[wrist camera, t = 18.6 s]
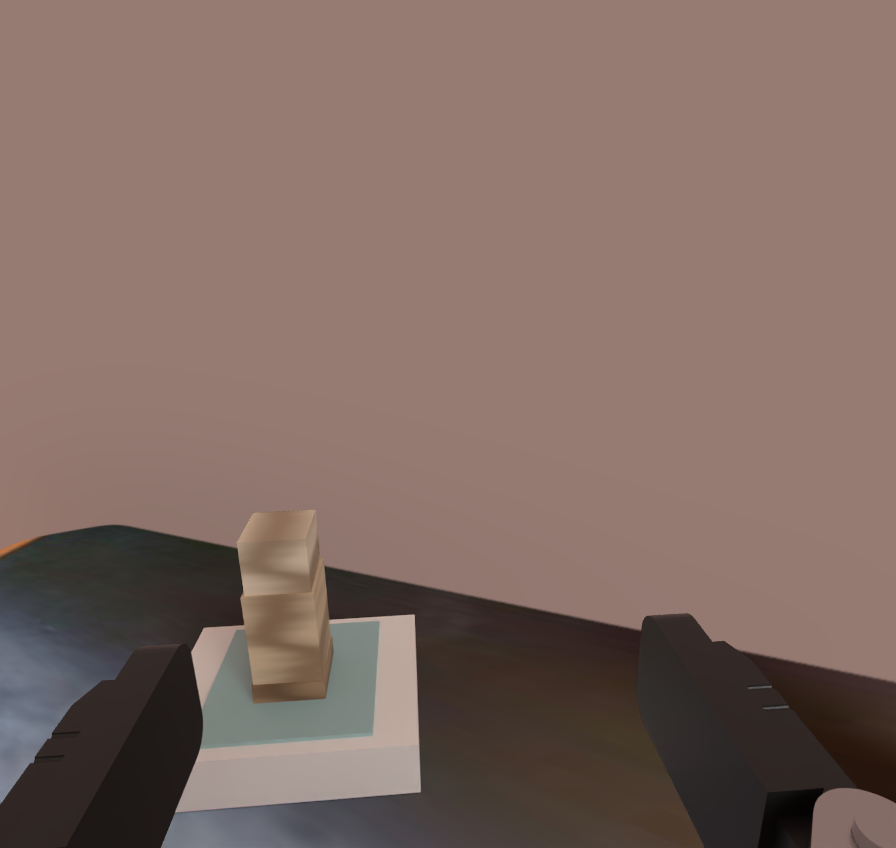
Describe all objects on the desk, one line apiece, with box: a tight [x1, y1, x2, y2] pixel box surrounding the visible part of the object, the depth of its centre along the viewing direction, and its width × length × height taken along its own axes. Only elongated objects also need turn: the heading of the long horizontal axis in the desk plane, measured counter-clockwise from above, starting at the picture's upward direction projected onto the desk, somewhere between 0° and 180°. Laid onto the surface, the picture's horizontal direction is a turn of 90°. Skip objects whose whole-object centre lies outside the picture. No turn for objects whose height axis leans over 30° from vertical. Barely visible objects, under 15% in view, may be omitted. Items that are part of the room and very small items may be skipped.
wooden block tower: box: [237, 510, 334, 704], centre depth 42 cm, size 5×5×12 cm
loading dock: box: [175, 615, 421, 813], centre depth 45 cm, size 18×14×4 cm
